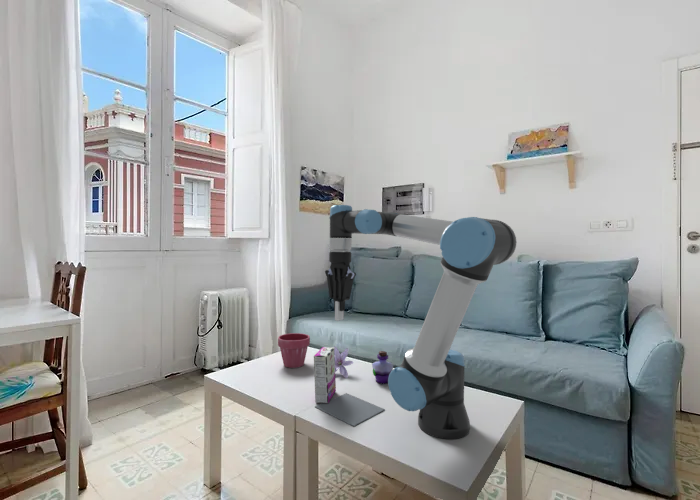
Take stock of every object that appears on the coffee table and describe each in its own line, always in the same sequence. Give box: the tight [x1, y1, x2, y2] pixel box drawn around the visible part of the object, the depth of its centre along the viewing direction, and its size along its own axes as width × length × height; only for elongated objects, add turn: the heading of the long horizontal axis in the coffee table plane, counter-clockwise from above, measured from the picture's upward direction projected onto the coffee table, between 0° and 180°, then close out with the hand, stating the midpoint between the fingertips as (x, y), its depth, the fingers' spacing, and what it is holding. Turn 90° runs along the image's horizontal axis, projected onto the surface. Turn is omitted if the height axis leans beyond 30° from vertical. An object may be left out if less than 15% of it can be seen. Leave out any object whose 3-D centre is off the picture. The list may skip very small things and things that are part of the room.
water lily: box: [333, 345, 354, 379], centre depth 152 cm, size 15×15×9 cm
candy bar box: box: [313, 346, 337, 404], centre depth 127 cm, size 11×5×16 cm, turn 168°
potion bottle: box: [371, 350, 394, 385], centre depth 142 cm, size 9×9×12 cm
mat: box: [314, 392, 386, 427], centre depth 119 cm, size 18×15×1 cm
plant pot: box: [277, 332, 311, 369], centre depth 162 cm, size 14×14×13 cm
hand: (339, 319), depth 122 cm, fingers closed
